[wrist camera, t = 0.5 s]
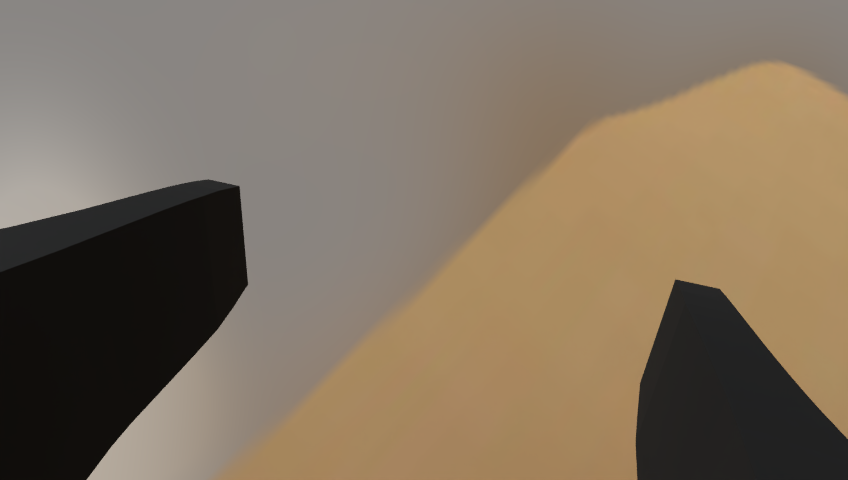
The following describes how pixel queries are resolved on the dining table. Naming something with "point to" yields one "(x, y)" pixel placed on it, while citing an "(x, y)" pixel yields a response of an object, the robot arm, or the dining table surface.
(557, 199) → the dining table surface
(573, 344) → the dining table surface
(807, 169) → the dining table surface
